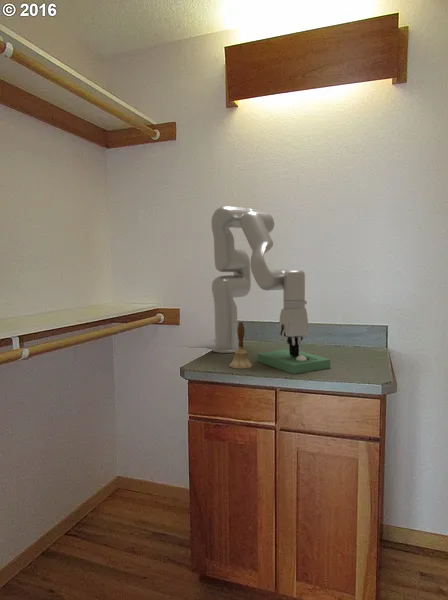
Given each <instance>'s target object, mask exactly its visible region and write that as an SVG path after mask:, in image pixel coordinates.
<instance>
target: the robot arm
mask: <svg viewBox="0 0 448 600" xmlns="http://www.w3.org/2000/svg"><path fill="white" fill-rule="evenodd" d="M210 221H211V231H212V235H213V251H214V252H213V253H214V256H213V257H214V266H215V269H216V270H217V271H218V272H220V273H233V275H232V274H231V275H228V274H227V275H226V274H225V275H220V276H216V278H214V279H213V281H212V283H211V292H212V297H213V304H214V306H213V307H214V340H213V343H214V346H212V347H211V351H212V352H213V353H222V354H223V353H224V354H231V353H233V354H234V353H235V351H236V350H238V349H239V338H238V334H237V329H238V308H237V307H238V306H237V304H236V302H235V300H234V298H242V297H246V296H247V295H248V294H249V292H250V291H251V286H252V285H251V284H252V283H251V277H252V276H253V278H254V281H255V282H256V284H257V286H258V287H259V288H260V289H262V290H263V291H281V290H283V292H282V293H283V308H281V311H280V315H279V324H278V335H279V336H280V340H281V341H284V342H287V344H288V345H289V346H288V347H289V348H288V349H289V350H290V355H291V356H299V351H300V345H301V342H302V341H303V340H305V339H307V337H308V334H309V333H308V332H309V318H308V312H307V308H306V305H307V303H308V301H307V300H306V275H305V274H306V273H305V272H304V270H301V269H290V270H289V269H278V268H277V269H275V268H274V269H270V268H269V267H268V265H267V263H266V261H265V253H268V252H269V251H270V250H271V249H272V248H273V246H274V241H273V239H272V237H271V235H270V233H271V232H273V230H274V228H275V220H274V217H273V215H272V214H270V213H269V212H266V211H263V210H258V209H255V208H251V207H245V206H244V207H243V206H236V205H235V206H234V205H224V206H220V207H217V208H216V209H215V210H214V212H213V214H212V217H211V220H210ZM230 228H236V229H241V230H242V232H243V234H244V236H245V238H246V240H247V242H248V245H249V246H250V249H251V251H252V253H251V256H250V257H249V254H248V253H247V252H246V251H245V250H242V249H235V238H234V237H235V236H234V234H233V232H232V230H231V229H230ZM251 275H252V276H251Z"/></svg>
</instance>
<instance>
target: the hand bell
mask: <svg viewBox="0 0 448 600" xmlns="http://www.w3.org/2000/svg"><path fill="white" fill-rule="evenodd" d="M237 337H238V346H239V349H238V350H236V351H235V352H234V356H233V359H232V362H230V364H229V365H228V366H229V367H230V368H232V369H237V370H238V369H239V370H243V369H244V370H245V369H250V368H252V367H253V364H252V363H251V362H250V360H249V356H248V351H247V350H245V348H244V337H245V325H244V323H243V322H242V321H239V322H238V324H237Z"/></svg>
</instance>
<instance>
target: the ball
mask: <svg viewBox="0 0 448 600" xmlns="http://www.w3.org/2000/svg"><path fill="white" fill-rule="evenodd" d="M296 360H298V361H306V360H307V359H306V357H305V356H303V355H300V356H298V357H297V358H296Z"/></svg>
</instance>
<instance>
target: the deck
mask: <svg viewBox="0 0 448 600" xmlns="http://www.w3.org/2000/svg"><path fill="white" fill-rule="evenodd" d="M256 355H257V356H256V357H257V358H256V359H257V360H256V362H259V363H260V364H265V365H267V366H270V367H271V368H275V369H278V370H280V371H284V372H287V373H289V374H292V375H296V374H302V373H308V372H314V371H319V370H325V369H326V370H328V369H330V368H331V359H330V358H326V357H323V356H319V355H316V354H312V353H308V352H304V351H301V350H299V356H300V355H303V356H305V357H306V359H307V360H306V361H298V360H296V358H297V357H298V356H291V355H290V350H289V348H288V349H280V350H273V351H272V350H271V351H265V352H258V353H257V354H256Z"/></svg>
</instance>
